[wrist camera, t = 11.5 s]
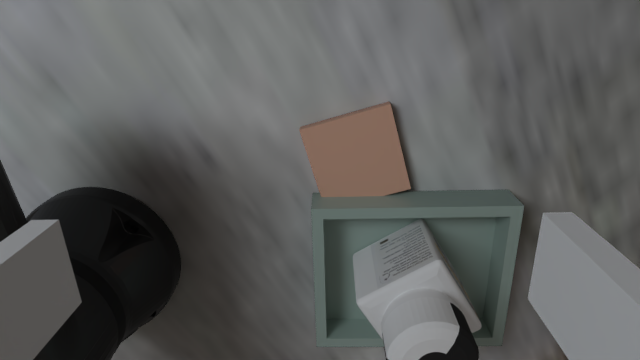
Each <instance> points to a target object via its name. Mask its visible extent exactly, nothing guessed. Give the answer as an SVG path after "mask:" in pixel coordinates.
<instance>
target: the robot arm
mask: <svg viewBox="0 0 640 360" xmlns="http://www.w3.org/2000/svg"><path fill="white" fill-rule="evenodd" d="M180 270H181V261H180V254H179V250H178V247H177V244H176V241H175V239H174V237H173V235H172V233H171V232H170V230H169V229H168V227H167V226H166V225H165V223H164V222H163V221H162V220H161V219H160V217H159V216H157V215H156V214H155V213H154V212H153V211H152V210H151V209H150V208H148V207H147V206H146V205H144V204H143V203H141V202H139V201H138V200H136V199H134V198H132V197H130V196H128V195H126V194H123V193H120V192H117V191H114V190H110V189H105V188H97V187H82V188H75V189H71V190H67V191H64V192H62V193H59V194H57V195H55V196H54V197H52V198H50V199H49V200H47V201H46V202H44V203H43V204H42V205H40V206H39V207H37V208H36V209H35V210H34V211H32V212H31V213H30V214H29V215H28V217H27V218H25V216H24V213H23V211H22V209H21V207H20V204H19V202H18V200H17V197H16V195H15V193H14V190H13V188H12V186H11V183H10V181H9V179H8V176H7V174H6V172H5V169H4V167H3V165H2V162H1V160H0V360H110V359H111V358H112V356H113V354H114V353H115V351H116V350H117V348H118V346H119V345H120V343H121V342H122V341H124V340H125V339H126V338H128V337H129V336H130V335H132V334H133V333H134V332H135V331H136V330H137V329H138V328H139V327H141V326H143V325H144V324H146V323H148V322H149V321H150V320H152V319H153V318H154V317H155V316H157V315H158V314H159V313H160V312H161V310H162V309H163V308H164V307H165V305H166V304H167V302H168V301H169V299H170V297H171V295H172V293H173V292H174V290H175V288H176V286H177V284H178V281H179V277H180ZM528 300H529V301H530V303H531V304H532V306H533V307H534V309H535V310H536V312H537V313H538V315H539V316H540V318H541V319H542V321H543V322H544V324H545V325H546V327H547V328H548V330H549V331H550V333H551V334H552V335H553V337H554V338H555V340H556V341H557V343H558V344H559V346H560V347H561V349H562V350H563V352H564V353H565V355H566V356H567V358H568V359H569V360H640V269H639V268H638V267H637V266H636V265H634V264H633V263H632V262H631V261H630V260H628V259H627V258H626V257H625V256H624V255H623V254H621V253H620V252H619V251H618V250H617V249H615V248H614V247H613V246H612V245H611V244H610V243H608V242H607V241H606V240H605V239H604V238H602V237H601V236H600V235H599V234H598V233H596V232H595V231H594V230H593V229H592V228H591V227H589V226H588V225H587V224H586V223H585V222H583V221H582V220H581V219H580V218H579V217H578V216H576V215H575V214H574V213H573V212H553V213H543V216H542V221H541V227H540V232H539V238H538V244H537V249H536V255H535V260H534V266H533V272H532V277H531V283H530V288H529V294H528Z"/></svg>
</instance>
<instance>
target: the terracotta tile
mask: <svg viewBox="0 0 640 360" xmlns="http://www.w3.org/2000/svg"><path fill="white" fill-rule="evenodd" d="M299 130H300V133H301V137H302V140H303V143H304V146H305V149H306V152H307V155H308V158H309V161H310V164H311V167H312V170H313V174H314V177H315V180H316V183H317V186H318V189H319V192H320V195H321V197H360V196H385V195H389V194H393V193H397V192H401V191H405V190H408V189H411V187H410V182H409V178H408V174H407V170H406V166H405V162H404V158H403V153H402V149H401V145H400V141H399V137H398V133H397V128H396V124H395V120H394V116H393V112H392V108H391V104H390V102H386V103H382V104H379V105H375V106H372V107H368V108H365V109H361V110H358V111H354V112H351V113H347V114H344V115H340V116H337V117H333V118H330V119H326V120H323V121H319V122H316V123H312V124H309V125H305V126H302V127H300V129H299Z"/></svg>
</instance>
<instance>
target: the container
mask: <svg viewBox="0 0 640 360" xmlns="http://www.w3.org/2000/svg"><path fill="white" fill-rule="evenodd" d="M353 268H354V280H355V292H356V303H357V305H358V307H359V308H360V310H361V311H362V312H363V314H364V315H365V316H366V318H367V319H368V320H369V322H370V323H371V325H372V326H373V327H374V329H375V330H376V331H377V333H378V334H379V336H380V337H381V338H382V340H383V343H384V349H385V356H386V360H478V357H479V351H478V346H477V344H476V342H475V339H474V337H473V335H472V333H473V332H475V331H478V330H479V329H481V327H482V326H481V322H480V320H479V318H478V316H477V314H476V312H475V309H474V307H473V305H472V303H471V301H470V299H469V297H468V295H467V293H466V291H465V289H464V286H463V284H462V282H461V280H460V278H459V276H458V274H457V272H456V271H455V269H454V268H453V266H452V264H451V263H450V261H449V259H448V258H447V256H446V255H445V253H444V251H443V250H442V248H441V246H440V245H439V243H438V241H437V240H436V238H435V237H434V235H433V233H432V232H431V230H430V228H429V227H428V225H427V224H426V222H425V221H424V220H423V219H418V220H416V221H414V222H413V223H411V224H409V225H407V226H405V227H403V228H401V229H399V230H398V231H396V232H394V233H392V234H390V235H388V236H386V237H384V238H382V239H381V240H379V241H377V242H375V243H373V244H371V245H369V246H367V247H366V248H364V249H362V250H360V251H358V252H356V253H354V254H353Z"/></svg>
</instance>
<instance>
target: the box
mask: <svg viewBox="0 0 640 360" xmlns="http://www.w3.org/2000/svg"><path fill="white" fill-rule="evenodd" d="M523 211H524V205H523V204H522V203H521V202H520V201H519V200H518V199H517V198H516V197H515V196H514V195H513V194H512V193H511V192H510V191H509V190H460V191H401V192H397V193H393V194H389V195H385V196H360V197H321V195H320V193H313V196H312V206H311V216H312V241H313V266H314V292H315V317H316V342H317V347H384V343H383V340H382V338H381V337H380V336H379V334H378V333H377V331H376V330H375V329H374V327H373V326H372V325H371V323H370V322H369V320H368V319H367V318H366V316H365V315H364V314H363V312H362V311H361V310H360V308H359V307H358V305H357V303H356V292H355V280H354V268H353V254H354V253H356V252H358V251H360V250H362V249H364V248H366V247H367V246H369V245H371V244H373V243H375V242H377V241H379V240H381V239H382V238H384V237H386V236H388V235H390V234H392V233H394V232H396V231H398V230H399V229H401V228H403V227H405V226H407V225H409V224H411V223H413V222H414V221H416V220H418V219H423V220H424V221H425V222H426V224H427V225H428V227H429V228H430V230H431V232H432V233H433V235H434V237H435V238H436V240H437V241H438V243H439V245H440V246H441V248H442V250H443V251H444V253H445V255H446V256H447V258H448V259H449V261H450V263H451V264H452V266H453V268H454V269H455V271H456V272H457V274H458V276H459V278H460V280H461V282H462V284H463V286H464V289H465V291H466V293H467V295H468V297H469V299H470V301H471V303H472V305H473V307H474V309H475V312H476V314H477V316H478V318H479V320H480V322H481V326H482V327H481V329H479V330H478V331H475V332H473V333H472V335H473V337H474V339H475V342H476V344H477V346H502V342H503V336H504V329H505V323H506V317H507V311H508V304H509V298H510V292H511V286H512V279H513V273H514V267H515V261H516V254H517V248H518V242H519V236H520V229H521V223H522V217H523Z"/></svg>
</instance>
